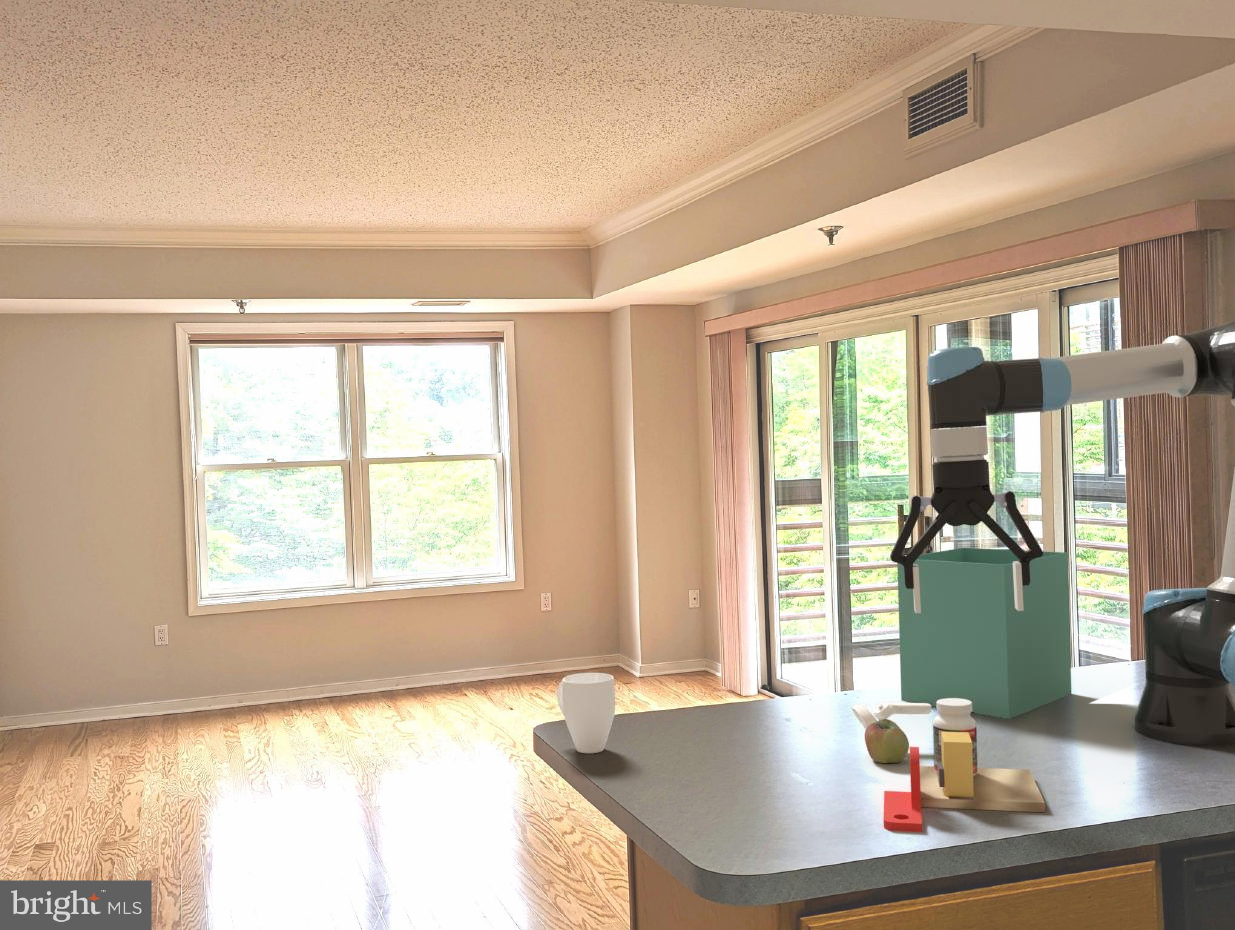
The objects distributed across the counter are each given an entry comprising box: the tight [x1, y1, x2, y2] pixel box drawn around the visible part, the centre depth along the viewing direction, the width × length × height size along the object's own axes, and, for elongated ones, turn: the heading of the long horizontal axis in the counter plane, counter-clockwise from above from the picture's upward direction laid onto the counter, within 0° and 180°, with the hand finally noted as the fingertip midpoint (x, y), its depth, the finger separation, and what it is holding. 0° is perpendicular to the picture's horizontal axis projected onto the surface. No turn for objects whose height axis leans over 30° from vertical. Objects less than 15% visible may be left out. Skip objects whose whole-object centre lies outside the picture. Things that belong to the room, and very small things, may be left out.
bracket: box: [883, 746, 923, 833], centre depth 136 cm, size 12×4×8 cm, turn 166°
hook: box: [850, 702, 932, 730], centre depth 165 cm, size 8×12×7 cm, turn 78°
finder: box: [938, 732, 974, 797], centre depth 140 cm, size 7×5×4 cm
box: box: [896, 547, 1072, 719], centre depth 195 cm, size 23×21×26 cm
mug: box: [557, 672, 616, 754], centre depth 171 cm, size 12×8×11 cm
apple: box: [864, 718, 910, 764], centre depth 159 cm, size 6×8×6 cm
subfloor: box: [920, 765, 1046, 813], centre depth 143 cm, size 15×14×1 cm
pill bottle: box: [932, 698, 979, 777], centre depth 147 cm, size 6×6×10 cm
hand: (968, 610), depth 150 cm, fingers open, 13 cm apart
